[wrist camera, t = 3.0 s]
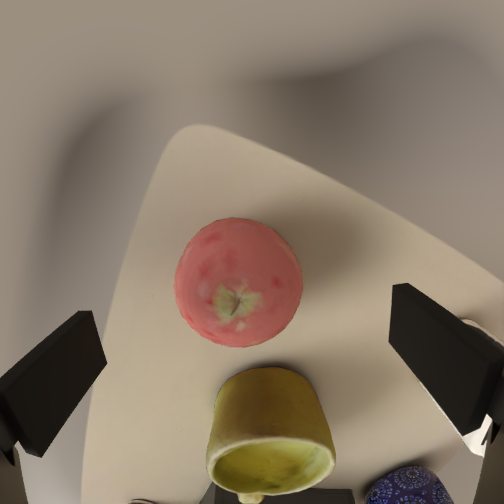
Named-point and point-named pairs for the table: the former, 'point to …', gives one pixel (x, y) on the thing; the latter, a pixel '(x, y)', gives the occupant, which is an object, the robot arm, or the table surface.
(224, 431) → the mug
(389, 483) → the planter
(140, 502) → the supplement bottle
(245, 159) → the table surface
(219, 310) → the apple
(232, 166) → the table surface
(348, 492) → the dark grey open box
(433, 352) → the robot arm
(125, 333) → the table surface
